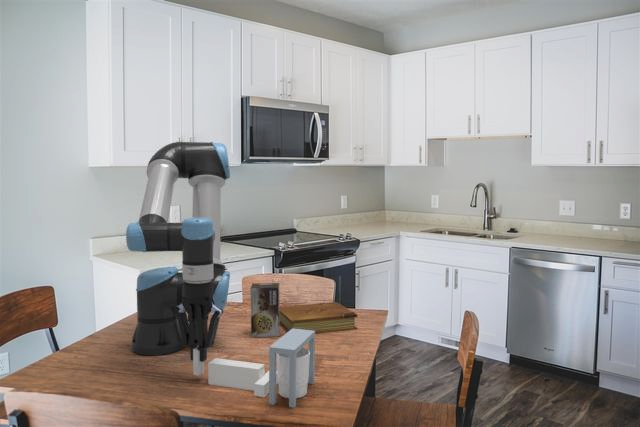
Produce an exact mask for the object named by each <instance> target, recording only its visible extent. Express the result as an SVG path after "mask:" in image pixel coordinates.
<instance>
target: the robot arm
mask: <svg viewBox="0 0 640 427" xmlns="http://www.w3.org/2000/svg"><path fill="white" fill-rule="evenodd" d="M229 164H230V163H229V155H228V149H227V146H226V145H225V144H224V143H222V142H213V141H211V142H207V141H206V142H205V141H204V142H203V141H200V142H199V141H198V142H195V141H194V142H191V141H174V142H171V143H168V144H166V145H164V146H163V147H161V148H160V149H158V150H157V151H156V152H155V153H154V154H153V155H152V156H151V158H150V160H149V161H148V163H147V167H146V175H147V182H146V188H145V190H144V197H143V200H142V205H141V209H140V213H139V217H138V221H136V222H130V223H129V224H128V225H127V226H126V232H125V235H126V236H125V240H126V242H125V243H126V247H127V249H128V250H129V251H131V252H140V253H141V252H142V253H150V252H151V253H155V252H156V253H158V252H181V253H182V254H181V256H182V263H181V264H182V268H181V269H182V271H181V272H179V268H178V267H177V266H163V267H157V268H153V269H148V270H146V271H143V272H141V273H140V274H139V275H138V276H137V278H136V289H135V291H136V310H137V312H136V313H137V314H136V315H137V318H136V319H137V321H136V326H135V330H134V333H133V336H132V339H131V351H132V352H133V353H135V354H137V355H143V356H160V355H161V356H162V355H167V354H172V353H175V352H179V351H181V350H182V349H183V348H185V346H188V347H189V348H190V352H189V353H190V361H192V371H193V372H192V373H193V376H200V375H201V374H203V373H204V372H205V361H207V359H208V355H207V354H208V351H207V350H208V348H210V347H212V346H214V345H215V341H216V337H217V331H218V327H219V322H220V318H221V317H222V315H223V313H224V309H225V308H226V305H227V302H228V295H229V294H228V293H229V287H230V280H231V279H230V278H231V273H230V271H229V270H226V265H225V264H224V263H223V262H222V261H221V194H222V193H221V189H222V188H223V187H224V186H225V185H226V180H228V179H230V177H231V171H230V165H229ZM178 179H188V180H187V181H188V185H190V187H192V217H186V218H184V219H183V220H182V222H169V218H170V211H171V204H172V199H173V198H172V197H173V193H174V187H175V183H176V182H177V181H178ZM210 313H211V314H210ZM209 314H210V316H211V317H210V320H209ZM208 320H209V325H208Z"/></svg>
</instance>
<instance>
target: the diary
mask: <svg viewBox="0 0 640 427" xmlns="http://www.w3.org/2000/svg"><path fill="white" fill-rule="evenodd" d="M355 318H358V314H357V313H356V312H354V311H352V310H351V309H349V308H348V307H346V306H344V305H342V304H340V303H339V302H337V301H334V302H319V303H309V304H308V303H307V304H298V305H297V304H296V305H286V306H285V305H283V306H280V328H282V329H283V330H284V331H285V332H286V333H287V332H289V331H290V330H291V329H292V328H293V329H303V330H312V331H315V335H316V334H317V335H318V334H328V333H336V332H345V331H355V330H356V329H357V330H358V327H356V326H355V322H356V321H355ZM357 330H356V331H357Z"/></svg>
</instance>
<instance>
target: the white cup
mask: <svg viewBox="0 0 640 427" xmlns="http://www.w3.org/2000/svg"><path fill="white" fill-rule="evenodd" d="M309 360H310V351H309V348H306V347H303V348H302V349H301V350H300V351H299V352H297V353H296V399H300V398H304V397H305V396H306V395H308V385H309ZM276 371H277V373H278V394H279V395H280V396H281V397H283V398H285V399H289V355H287V354H279V353H276Z"/></svg>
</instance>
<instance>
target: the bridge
mask: <svg viewBox="0 0 640 427" xmlns="http://www.w3.org/2000/svg"><path fill="white" fill-rule="evenodd" d="M307 344H308V350H309V351H310V360H309V377H308V385H314V384H315V383H316V382H315V379H316V378H315V376H316V374H315V372H316V371H315V370H316V366H315V365H316V334H315V331H312V330H303V329H293V328H292V329H291V330H290V331H289V332H286V333H285V334H284V335H283V336H281V337H280V338H279V339H278V340H276V341H275V342H274V343H273V344H271V345H270V346H269V348H268V349H269V350H268V356H269V357H268V359H269V361H268V362H269V363H268V365H269V366H268V369H269V370H268V371H269V393H268V396H269V398H268V404H269V405H272V406H274V405H276V403H277V385H276V371H277V353H279V354H287V355H289V398H288V407H289V408H293V409H294V408H296V406H297V398H296V353H297V352H299V351H300V350H301V349H302V348H305V346H306V345H307Z"/></svg>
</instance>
